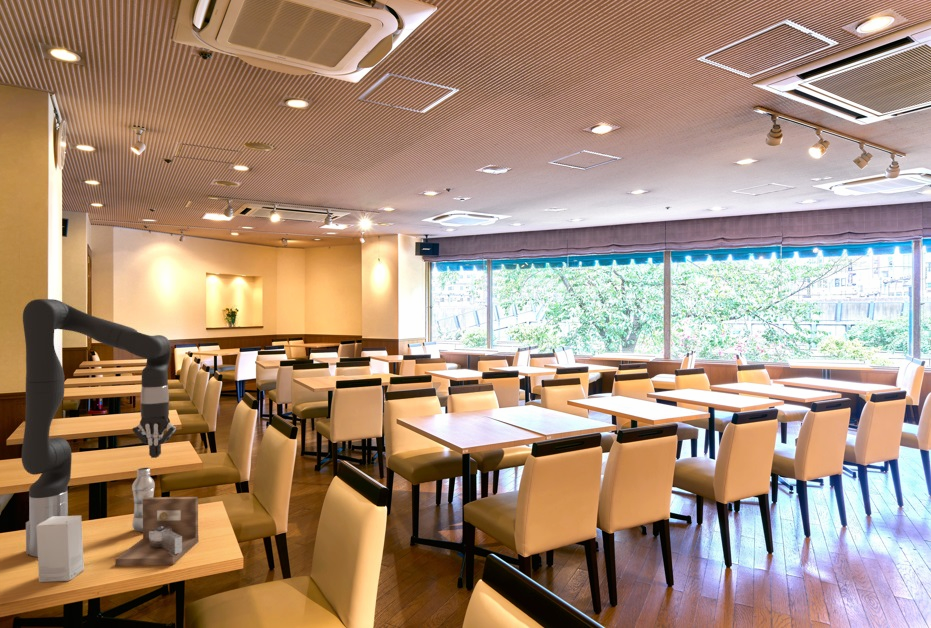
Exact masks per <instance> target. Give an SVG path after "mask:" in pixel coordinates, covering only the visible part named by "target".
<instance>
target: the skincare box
mask: <svg viewBox="0 0 931 628" xmlns="http://www.w3.org/2000/svg"><path fill="white" fill-rule="evenodd" d="M82 519H83V518H82V515H68V516H53V517H51V518H49V519H47V520H45V521H44V522H42V523H40V524H38V525H36V531H37V551H38V557H37V566H38V567H37V568H38V569H37V570H38V583H47V582H48V583H49V582H52V583H53V582H70V581H71V580H73V579H74V578H75V577H77V576H78V575H80V573H82V572H83V571H84V570H85V565H84V562H85V561H84V545H83V544H84V541H83V524H82V523H83V522H82Z"/></svg>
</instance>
